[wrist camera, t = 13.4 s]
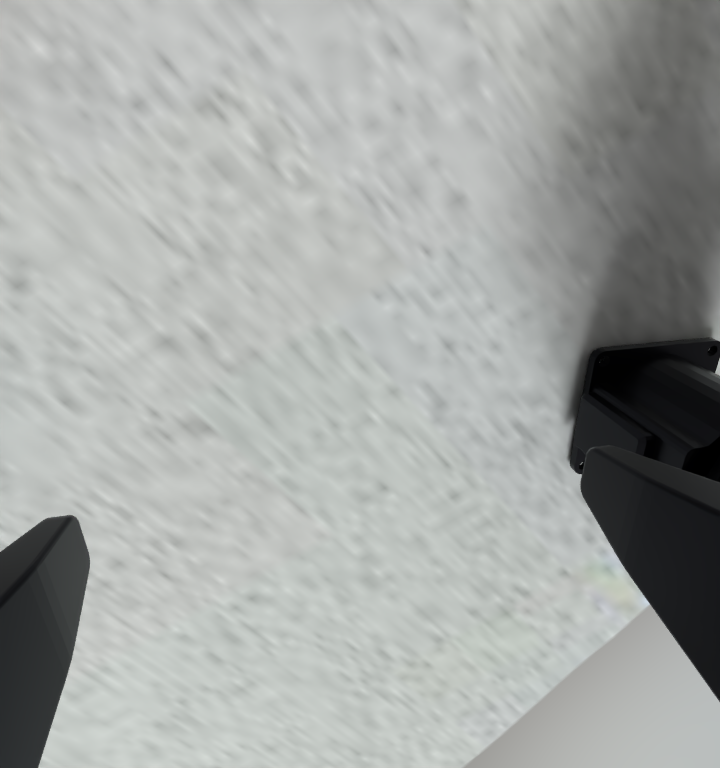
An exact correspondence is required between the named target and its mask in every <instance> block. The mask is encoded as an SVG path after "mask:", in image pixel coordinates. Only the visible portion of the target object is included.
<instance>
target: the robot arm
mask: <svg viewBox="0 0 720 768" xmlns="http://www.w3.org/2000/svg"><path fill="white" fill-rule="evenodd" d="M709 348H710V349H709ZM708 350H709V351H708ZM602 357H604V359H603V361H602V362H601V363H599V361H600V359H601V358H602ZM719 358H720V342H719V341H717V340H715V339H713V338H701V339H690V340H679V341H669V342H658V343H647V344H636V345H625V346H614V347H604V348H598V349H596V350H595V351H593V353H592V354H591V355H590V358H589V362H588V367H587V373H586V378H585V384H584V389H583V394H582V398H581V402H580V407H579V413H578V418H577V424H576V429H575V435H574V440H573V449H572V454H571V460H570V466H571V468H572V469H573V470H574V471H575V472H576V473H578V474H582V478H581V492H582V495H583V498H584V499H585V501H586V503H587V505H588V506H589V508H590V510H591V512H592V513H593V515H594V517H595V519H596V520H597V522H598V524H599V525H600V527H601V529H602V531H603V532H604V534H605V536H606V538H607V539H608V541H609V543H610V545H611V546H612V548H613V550H614V552H615V553H616V555H617V557H618V558H619V560H620V561H621V563H622V565H623V566H624V568H625V569H626V571H627V572H628V574H629V575H630V577H631V578H632V579H633V581H634V582H635V584H636V585H637V586H638V588H639V589H640V591H641V592H642V593H643V595H644V596H645V598H646V599H647V600H648V602H649V603H650V605H651V606H652V607H653V609H654V610H655V612H656V613H657V614H658V616H659V617H660V619H661V620H662V622H663V623H664V624H665V626H666V627H667V629H668V630H669V631H670V633H671V634H672V635H673V637H674V638H675V640H676V641H677V643H678V644H679V645H680V647H681V648H682V649H683V651H684V652H685V654H686V655H687V657H688V658H689V659H690V660H691V662H692V663H693V665H694V666H695V668H696V669H697V670H698V672H699V673H700V675H701V676H702V678H703V679H704V680H705V682H706V683H707V685H708V686H709V687H710V689H711V690H712V692H713V693H714V694H715V696H716V697H717V699H718V700H719V702H720V376H719V375H717V374H715V371H716V368H717V365H718V361H719ZM582 462H583V463H582ZM581 463H582V464H581ZM580 464H581V465H580ZM89 568H90V557H89V552H88V549H87V546H86V543H85V540H84V536H83V533H82V530H81V527H80V524H79V521H78V520H77V518H76V517H74V516H72V515H67V516H59V517H51V518H47V519H45V520H43V521H42V522H40V523H39V524H38V525H36V526H35V527H33V528H32V529H31V530H29V531H28V532H27V533H25V534H24V535H23V536H21V537H20V538H19V539H17V540H16V541H14V542H13V543H12V544H10V545H9V546H8V547H6V548H5V549H4V550H2V551H1V552H0V768H38V766H39V763H40V760H41V757H42V754H43V750H44V747H45V744H46V741H47V738H48V735H49V731H50V728H51V725H52V722H53V719H54V715H55V712H56V709H57V706H58V703H59V700H60V696H61V693H62V690H63V687H64V684H65V681H66V677H67V674H68V670H69V667H70V663H71V660H72V655H73V651H74V646H75V641H76V636H77V631H78V626H79V621H80V615H81V610H82V605H83V600H84V595H85V590H86V584H87V579H88V574H89Z"/></svg>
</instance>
